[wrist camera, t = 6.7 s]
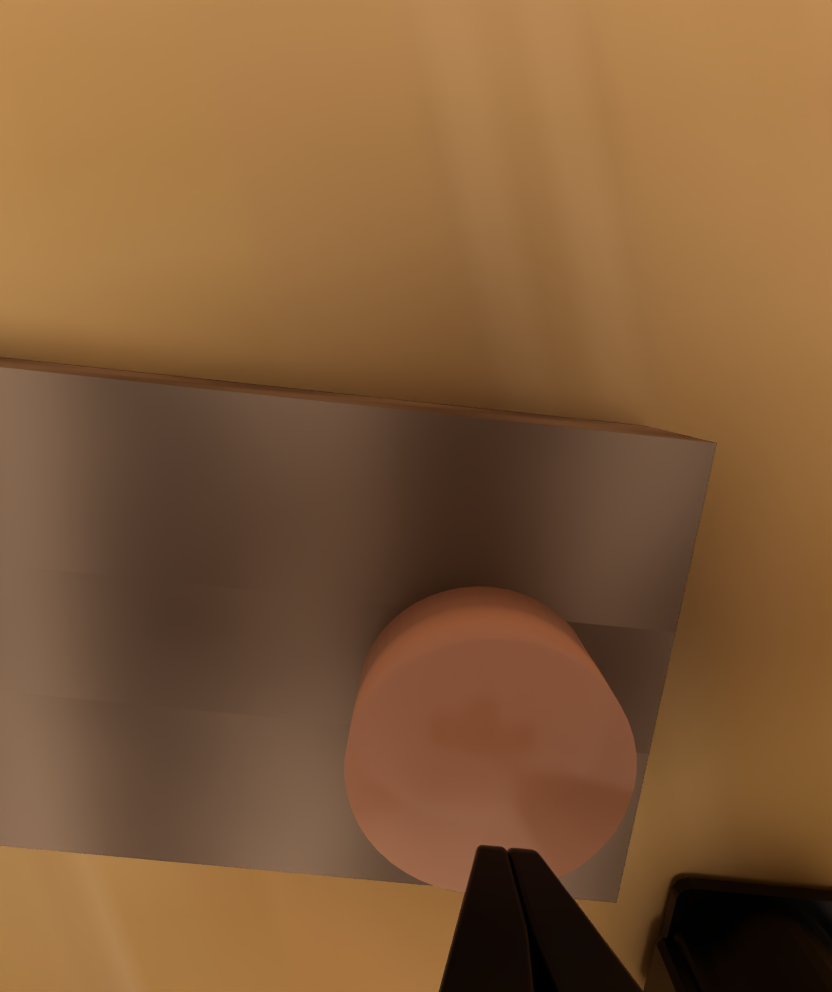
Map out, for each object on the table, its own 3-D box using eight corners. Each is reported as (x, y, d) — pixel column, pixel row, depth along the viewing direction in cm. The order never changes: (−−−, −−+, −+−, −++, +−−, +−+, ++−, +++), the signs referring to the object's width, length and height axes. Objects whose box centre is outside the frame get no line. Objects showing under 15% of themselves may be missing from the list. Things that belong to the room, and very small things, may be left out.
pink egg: (567, 543, 16) (662, 655, 10) (538, 709, 17) (608, 906, 11) (381, 524, 16) (356, 624, 10) (365, 692, 17) (333, 880, 11)
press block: (644, 425, 16) (717, 443, 12) (575, 791, 19) (616, 902, 15) (-216, 334, 16) (-426, 322, 12) (-166, 720, 18) (-326, 815, 14)
